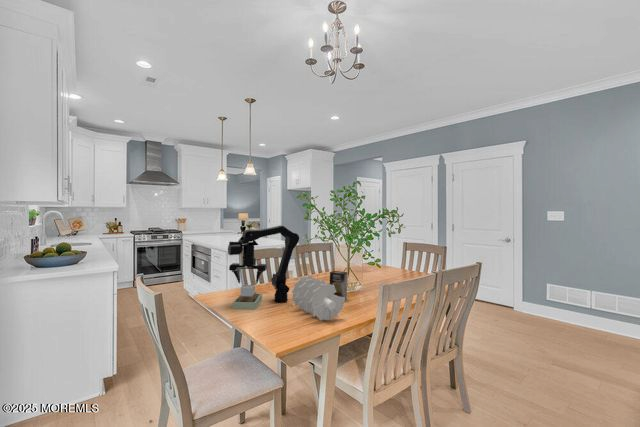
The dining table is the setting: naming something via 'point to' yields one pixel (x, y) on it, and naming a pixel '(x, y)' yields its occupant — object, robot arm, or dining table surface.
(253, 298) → the walnut block
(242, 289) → the gray block
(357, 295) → the dining table surface
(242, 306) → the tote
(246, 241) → the robot arm
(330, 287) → the spiral staircase
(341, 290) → the coffee box
